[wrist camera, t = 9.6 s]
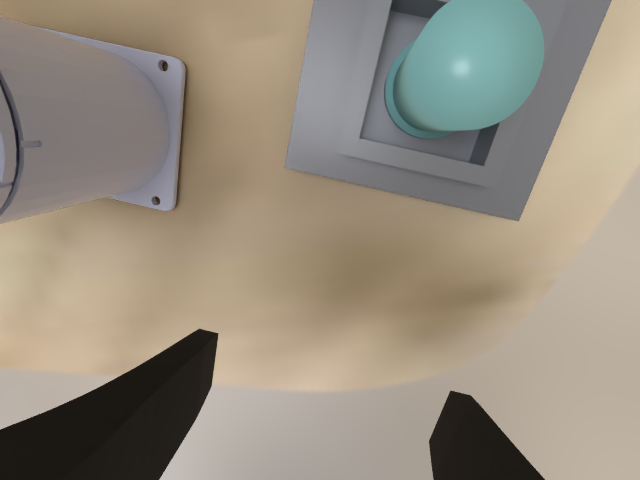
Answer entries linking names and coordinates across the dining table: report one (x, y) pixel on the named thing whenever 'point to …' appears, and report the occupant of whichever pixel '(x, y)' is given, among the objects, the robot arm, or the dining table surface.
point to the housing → (427, 153)
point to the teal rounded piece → (466, 68)
